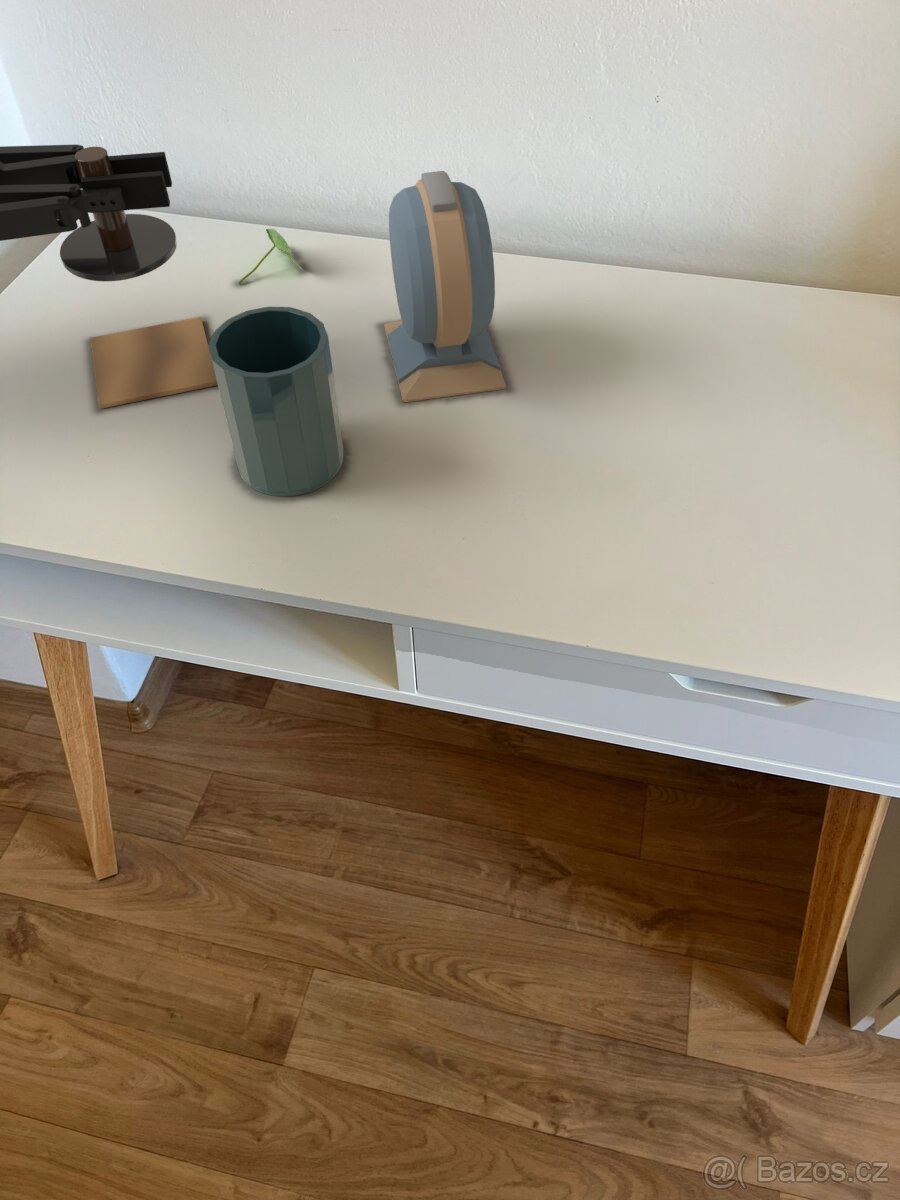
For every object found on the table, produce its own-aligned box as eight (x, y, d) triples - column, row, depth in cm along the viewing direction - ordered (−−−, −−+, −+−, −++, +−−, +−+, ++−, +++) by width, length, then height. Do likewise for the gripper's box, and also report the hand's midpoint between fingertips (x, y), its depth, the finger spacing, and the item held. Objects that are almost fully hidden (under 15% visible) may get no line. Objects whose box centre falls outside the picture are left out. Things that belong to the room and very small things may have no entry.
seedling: (269, 311, 111) (308, 266, 111) (263, 307, 103) (305, 259, 103) (219, 264, 110) (259, 218, 109) (209, 256, 102) (252, 207, 101)
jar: (247, 506, 85) (218, 387, 75) (230, 438, 90) (201, 318, 81) (354, 483, 86) (338, 363, 77) (330, 417, 92) (313, 297, 82)
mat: (100, 409, 93) (98, 404, 93) (91, 341, 100) (90, 337, 100) (218, 385, 95) (217, 381, 95) (201, 320, 102) (200, 316, 102)
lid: (122, 300, 84) (89, 196, 77) (39, 266, 88) (1, 164, 81) (202, 245, 90) (178, 143, 83) (121, 215, 93) (92, 115, 86)
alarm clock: (508, 395, 93) (514, 217, 80) (404, 409, 92) (392, 231, 79) (477, 308, 102) (478, 135, 89) (382, 320, 101) (368, 147, 88)
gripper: (-82, 197, 91) (181, 176, 92) (-124, 296, 81) (172, 270, 82) (-120, 113, 85) (161, 91, 86) (-170, 208, 75) (149, 182, 76)
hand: (166, 179), depth 84 cm, fingers closed on lid, 3 cm apart
